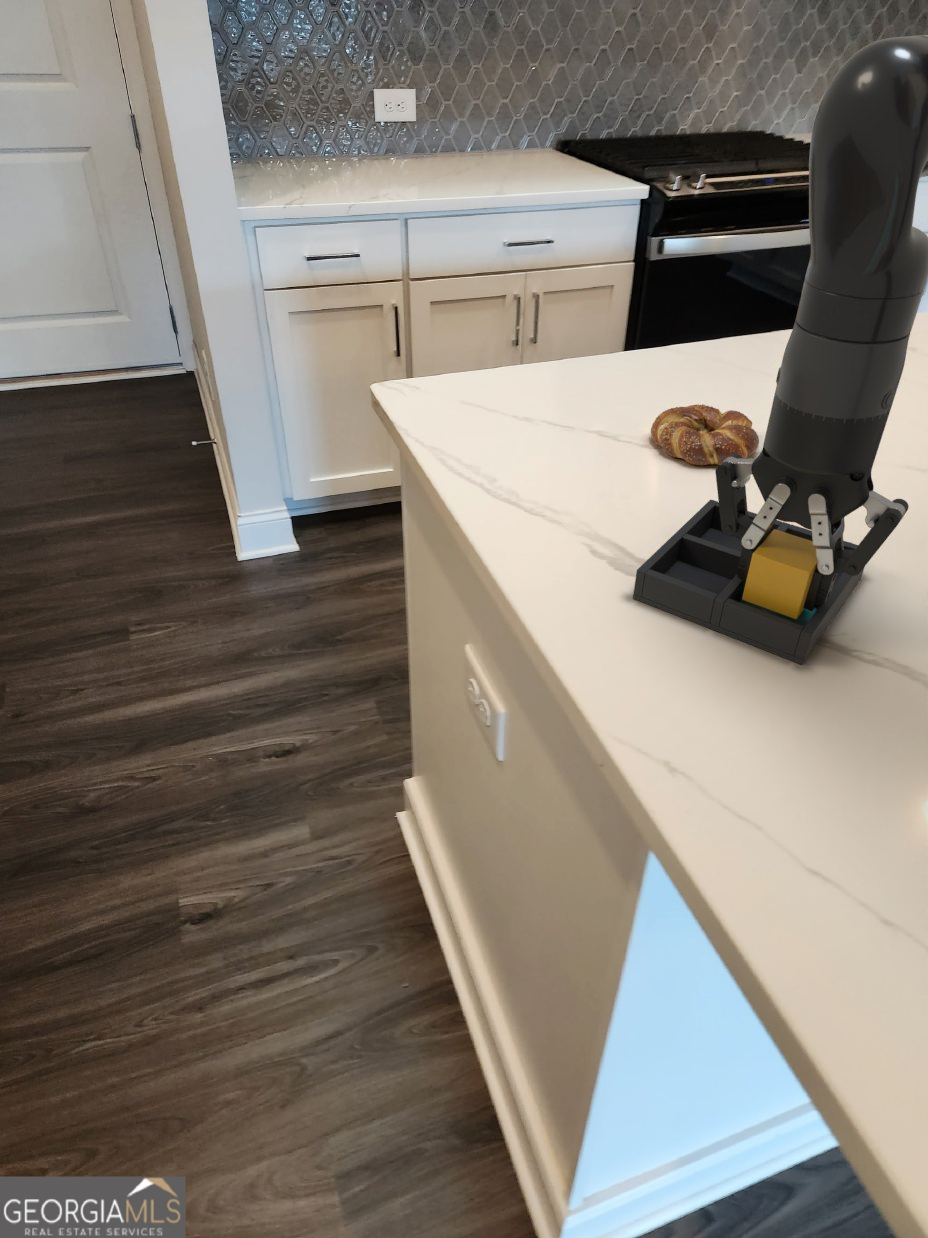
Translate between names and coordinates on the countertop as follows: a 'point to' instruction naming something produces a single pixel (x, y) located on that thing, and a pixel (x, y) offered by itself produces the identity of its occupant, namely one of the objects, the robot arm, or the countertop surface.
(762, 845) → the countertop surface
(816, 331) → the robot arm
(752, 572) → the block
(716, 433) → the pretzel
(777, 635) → the tray
